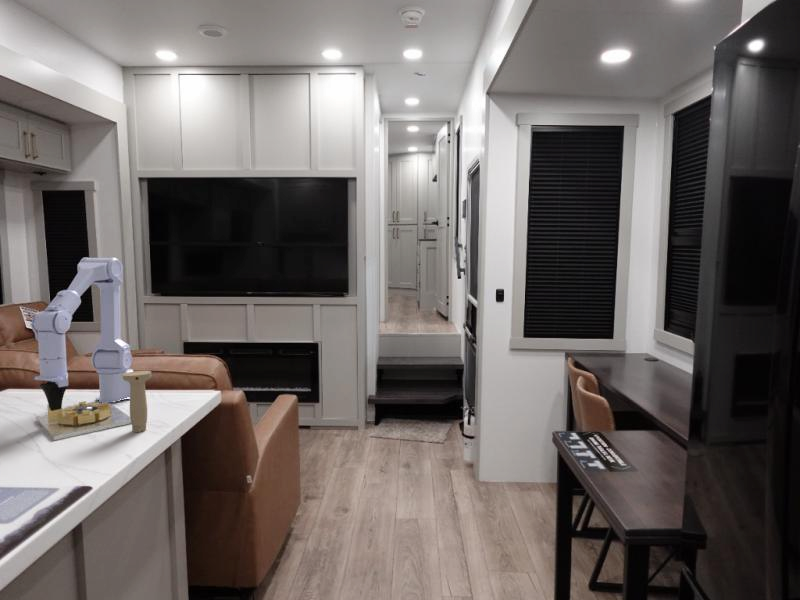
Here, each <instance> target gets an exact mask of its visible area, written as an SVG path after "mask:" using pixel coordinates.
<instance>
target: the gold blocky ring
mask: <svg viewBox="0 0 800 600" xmlns="http://www.w3.org/2000/svg"><path fill="white" fill-rule="evenodd" d="M84 405H92V406H93V411H91V412H90V411H89V410H82V413H77V411H75V408H76V407H79V406H84ZM47 415H48V423H54V422H58V423H60V424H70V425H74V424H76V423H78V424H84V423H90V422H95V420H102V419H104V418H106V417H108V416H110V415H111V407H110V405H109V403H101V402H93V403H90V402H87V401H86V400H84V401H79V402H78V404H74V405H73V406H72V405H71V406H66V407H64V408H63V406H61V409H59V410H54V411H51V410H50V408H49V404H48V403H47Z"/></svg>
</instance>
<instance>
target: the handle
mask: <svg viewBox="0 0 800 600" xmlns="http://www.w3.org/2000/svg"><path fill="white" fill-rule="evenodd" d="M133 371H134V370H133ZM150 378H152V371H150V370H136V371H134V372H128V373H124V374H123V380H125V381H127V382H129V383H130V399H129V416H130V419H131V430H132V432H133V433H141V432H144V431H146V430H147V423H148V403H147V394H146V393H147V392H146V382H147V381H148V380H150Z"/></svg>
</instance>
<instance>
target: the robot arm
mask: <svg viewBox="0 0 800 600" xmlns="http://www.w3.org/2000/svg"><path fill="white" fill-rule="evenodd" d="M76 267H77V268H76V269H77V274H76V275H75V277H74V278H73V280H72V281H71V283H70V285H69V286H68V287H67V289H63V290H60V291H58V292H57V293H56V295H55V297H54V298H53V299H52V300H51V302H50V303H49V304H48V305H47V307H45V309H44V310H42V311H41V310H40V311H39V312H37V313H36V314H35V315H34V316H33V317H32V319H31V320H32V321H31V323H30V327H31V330H32V331H33V333H34V335H35V337H34V338H35V339H36V341H38V342H37V343H38V358H39V359H38V360H39V361H38V363H39V375H37V376H34V380H35V381H46V382H45V383H41V384H39V387H40V388H41V390H42V391H43V393H44V395H45V397H46V400H47V404H49V408H50V410H51V411H54V410H59V409H61V406H62V405H63V399H64V395H65V392H66V390H67V388H68V386H69V385H70V383H69V378H68V377H69V373H68V366H67V365H68V363H67V345H66V344H67V342H66V332H68V331H69V330H70V328H71V323H72V320H73V315H74V313H75V312H76V311H77V309H78V308H79V307H80V306H81V303H82V300H81V296H83V294H84V293H85V292H87V290H88V289H89V288H90V286H91V285H92V284H93V285H96V287H98V289H100V341H99V342H98V343H96V344H95V345H94V346H93V350H92V354H91V357H90V358H91V359H90V364H91V366H92V368H93V370H95V373H97V374H98V384H99V396H97V397H95V400H96V399H97V400H96V401H98V400H99V401H100V402H99V401H98V402H99V403H101V402H102V403H108V402H113V401H118V400H120V399H121V400H122V399H124V398H127V397H130V383H129V382H127V381H125V380H123V374H124V373H128V372H134V369H132V368H130V367H131V365H132V364H133V363H132V362H133V356H132V353H131V345H130V344H129V343H127V342H125V341H124V340H122V339H121V338H122V336H121V335H122V334H121V286H122V285H123V282H124V281H123V279H124V266H123V264H122V263H121V261H120V260H119V259H118V258H117V257H110V258H109V257H86V256H85V257H83V258H81V259H80V261H79V262H78V264H77V266H76ZM113 403H114V402H113ZM108 404H109V403H108ZM62 407H63V406H62Z"/></svg>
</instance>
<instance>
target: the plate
mask: <svg viewBox="0 0 800 600" xmlns="http://www.w3.org/2000/svg"><path fill="white" fill-rule="evenodd" d="M108 404H109V405H110V407H111V415H110V416H108V417H106V418H104V419H102V420H95V422H90V423H84V424H78V423H76V424H74V425H70V424H60V423H58V422H54V423H48V414H47V415H41V416H37V417H35V421H36V420H37V421H36V423H37V424H38V425H40V427H41V426H42V427H43V428H42V427H41V428H42V429H43V430H44V432H46V433H47V434H48V436H49V437H50V438H51V439H52V440H53V441H58V440H64V439H66V438H67V439H68V438H72V437H77V436H80V435H81V436H82V435H85V434H89V433H90V434H91V433H95V432H99V430H100V431H103V429H104V430H108V429H107V428H109V429H112V428H111V427H113V428H116V427H115V426H118V427H121V426H120V425H122V426H125V425H124V424H127V425H130V424H129V423H131V419H130V415H128V414H127V413H125V412H123V411H122V410H121V409H119V408H118V407H116V406H115V405H113V404H112V403H108ZM82 410H89V411H90V412H91V411H93V406H92V405H84V406H79V407H76V408H75V411H77V413H82Z"/></svg>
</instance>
